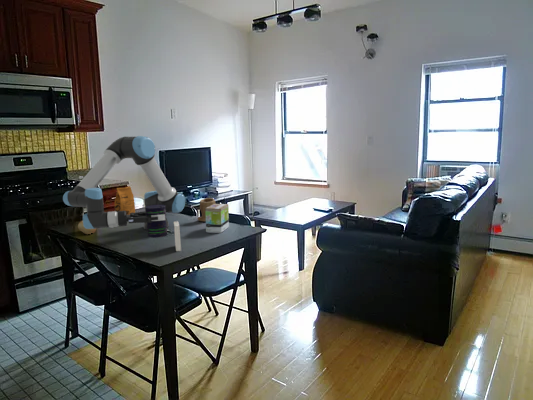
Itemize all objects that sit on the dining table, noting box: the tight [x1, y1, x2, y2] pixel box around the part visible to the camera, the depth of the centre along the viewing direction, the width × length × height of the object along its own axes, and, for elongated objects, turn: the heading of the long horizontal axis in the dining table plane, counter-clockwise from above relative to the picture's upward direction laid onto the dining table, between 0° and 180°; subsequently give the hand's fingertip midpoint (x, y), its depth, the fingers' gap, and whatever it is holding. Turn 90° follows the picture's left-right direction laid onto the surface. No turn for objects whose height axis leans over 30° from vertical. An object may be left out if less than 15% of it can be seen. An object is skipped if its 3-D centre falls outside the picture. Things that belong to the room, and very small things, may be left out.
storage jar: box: [144, 204, 168, 239], centre depth 201 cm, size 10×10×15 cm
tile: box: [173, 220, 182, 252], centre depth 205 cm, size 2×10×13 cm, turn 15°
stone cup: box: [197, 197, 217, 222], centre depth 266 cm, size 15×12×15 cm
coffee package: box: [114, 185, 136, 215], centre depth 280 cm, size 10×12×22 cm
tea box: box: [205, 203, 230, 234], centre depth 241 cm, size 15×10×15 cm, turn 168°
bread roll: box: [77, 220, 97, 235], centre depth 244 cm, size 10×15×8 cm, turn 44°
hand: (164, 215), depth 202 cm, fingers closed on storage jar, 10 cm apart
